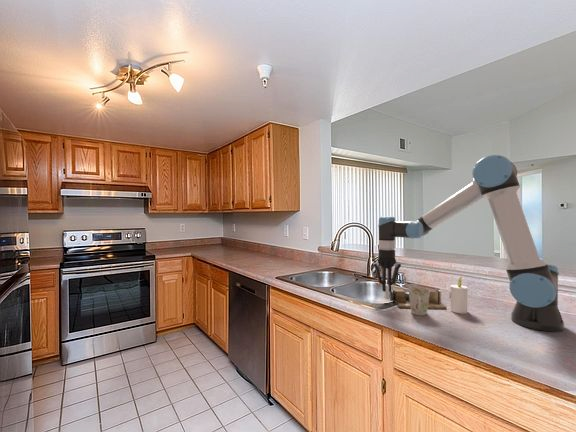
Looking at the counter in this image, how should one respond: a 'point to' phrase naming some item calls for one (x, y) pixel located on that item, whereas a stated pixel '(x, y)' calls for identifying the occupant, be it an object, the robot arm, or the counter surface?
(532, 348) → the counter surface
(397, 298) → the brown board
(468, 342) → the counter surface
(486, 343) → the counter surface
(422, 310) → the mug
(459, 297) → the candle
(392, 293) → the pin
